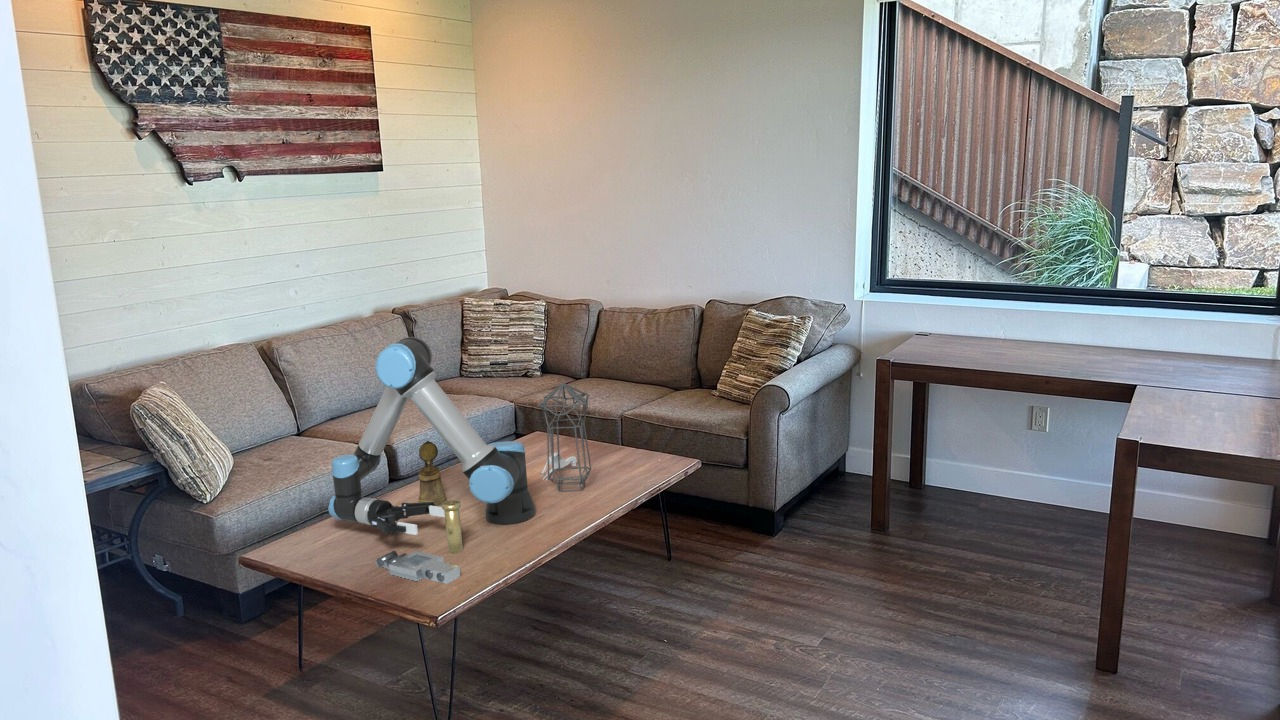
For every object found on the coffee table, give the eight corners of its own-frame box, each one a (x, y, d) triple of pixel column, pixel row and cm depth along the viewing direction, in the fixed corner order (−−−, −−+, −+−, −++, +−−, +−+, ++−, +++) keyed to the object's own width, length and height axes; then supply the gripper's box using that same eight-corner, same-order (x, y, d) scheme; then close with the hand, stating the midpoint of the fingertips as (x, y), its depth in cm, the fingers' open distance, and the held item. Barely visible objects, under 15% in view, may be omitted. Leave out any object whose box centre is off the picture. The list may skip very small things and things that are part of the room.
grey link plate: (368, 569, 250) (367, 559, 249) (396, 555, 258) (395, 545, 257) (439, 587, 236) (438, 576, 235) (466, 572, 244) (465, 562, 244)
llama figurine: (552, 495, 318) (578, 462, 331) (542, 470, 313) (569, 437, 325) (548, 495, 319) (574, 462, 332) (538, 469, 313) (565, 437, 326)
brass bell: (447, 491, 310) (441, 439, 306) (446, 504, 297) (441, 450, 293) (419, 494, 308) (414, 442, 304) (418, 508, 295) (412, 453, 291)
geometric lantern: (544, 495, 300) (535, 390, 294) (551, 481, 316) (543, 380, 310) (593, 493, 299) (584, 387, 293) (597, 478, 315) (589, 377, 309)
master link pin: (465, 546, 262) (460, 499, 259) (464, 553, 257) (459, 505, 254) (447, 548, 261) (442, 500, 259) (445, 555, 257) (441, 507, 254)
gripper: (405, 509, 282) (461, 518, 272) (345, 540, 260) (404, 550, 250) (402, 486, 280) (459, 494, 271) (342, 514, 259) (401, 524, 249)
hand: (432, 521), depth 261 cm, fingers open, 13 cm apart
